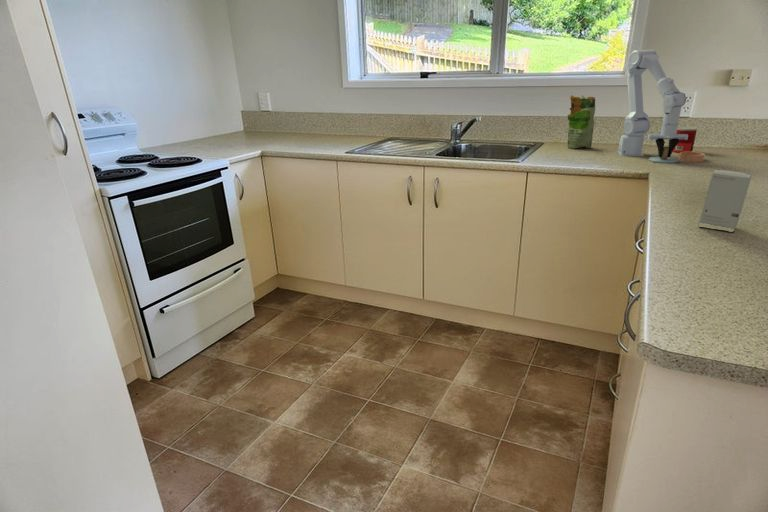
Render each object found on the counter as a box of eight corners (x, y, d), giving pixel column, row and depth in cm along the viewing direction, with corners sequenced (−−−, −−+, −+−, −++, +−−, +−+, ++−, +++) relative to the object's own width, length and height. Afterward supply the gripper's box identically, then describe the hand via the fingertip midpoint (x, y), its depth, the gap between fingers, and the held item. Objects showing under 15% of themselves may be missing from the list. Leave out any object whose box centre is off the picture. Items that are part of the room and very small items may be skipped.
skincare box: (697, 227, 129) (710, 173, 123) (702, 221, 133) (713, 168, 128) (735, 233, 124) (750, 176, 118) (738, 227, 128) (752, 172, 122)
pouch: (592, 149, 233) (599, 95, 224) (566, 149, 236) (571, 96, 227) (589, 145, 243) (595, 93, 234) (564, 145, 246) (569, 94, 237)
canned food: (694, 154, 215) (699, 129, 211) (675, 154, 217) (679, 129, 213) (688, 151, 222) (693, 126, 218) (669, 151, 224) (673, 126, 220)
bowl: (682, 162, 201) (683, 155, 200) (675, 158, 209) (676, 151, 208) (706, 162, 199) (708, 155, 198) (698, 158, 207) (700, 151, 206)
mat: (653, 163, 201) (653, 162, 201) (647, 158, 210) (647, 158, 210) (680, 163, 199) (680, 162, 199) (672, 159, 208) (672, 158, 208)
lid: (652, 163, 201) (655, 149, 198) (645, 157, 210) (648, 144, 208) (682, 163, 198) (684, 149, 196) (673, 157, 208) (676, 144, 206)
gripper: (653, 125, 197) (647, 158, 202) (693, 124, 193) (686, 158, 199) (648, 123, 203) (643, 155, 208) (687, 122, 200) (680, 155, 205)
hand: (664, 156), depth 204 cm, fingers closed on lid, 3 cm apart
